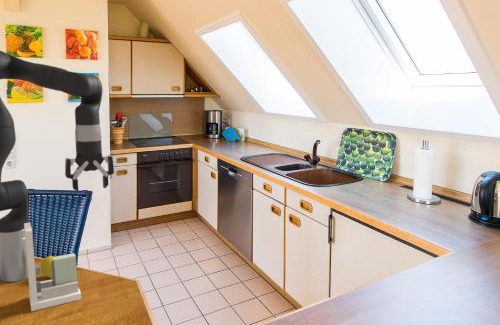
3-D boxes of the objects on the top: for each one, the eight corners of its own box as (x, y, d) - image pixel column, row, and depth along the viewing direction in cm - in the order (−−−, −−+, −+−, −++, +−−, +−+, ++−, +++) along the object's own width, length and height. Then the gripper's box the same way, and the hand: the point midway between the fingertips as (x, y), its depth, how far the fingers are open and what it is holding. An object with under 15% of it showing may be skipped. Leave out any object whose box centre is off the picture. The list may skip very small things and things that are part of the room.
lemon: (42, 275, 135) (40, 253, 134) (60, 273, 138) (58, 251, 136) (41, 282, 130) (39, 260, 129) (59, 279, 133) (58, 257, 131)
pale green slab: (76, 285, 125) (74, 253, 123) (77, 289, 123) (75, 256, 121) (52, 290, 121) (50, 257, 119) (53, 294, 119) (51, 260, 117)
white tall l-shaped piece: (76, 286, 128) (72, 216, 124) (81, 299, 121) (77, 224, 117) (29, 297, 121) (23, 223, 117) (31, 311, 114) (24, 232, 109)
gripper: (109, 136, 130) (111, 184, 133) (61, 138, 123) (65, 189, 125) (114, 139, 124) (116, 189, 127) (65, 141, 116) (68, 194, 119)
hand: (90, 189), depth 126 cm, fingers open, 8 cm apart
